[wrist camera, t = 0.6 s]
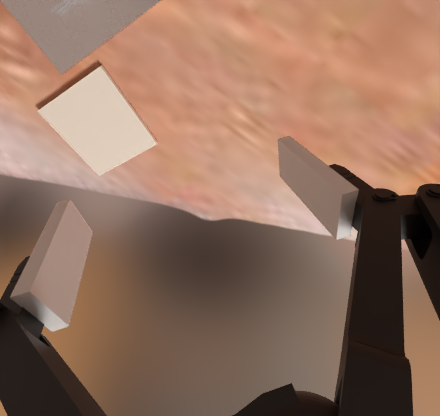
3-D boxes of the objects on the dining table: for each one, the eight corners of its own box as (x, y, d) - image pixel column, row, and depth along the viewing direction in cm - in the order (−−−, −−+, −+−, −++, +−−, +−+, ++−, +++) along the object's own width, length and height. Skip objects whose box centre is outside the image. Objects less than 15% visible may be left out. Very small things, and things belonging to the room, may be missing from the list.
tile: (39, 109, 34) (37, 111, 33) (102, 65, 30) (100, 65, 30) (100, 174, 39) (99, 176, 39) (158, 142, 36) (157, 144, 36)
